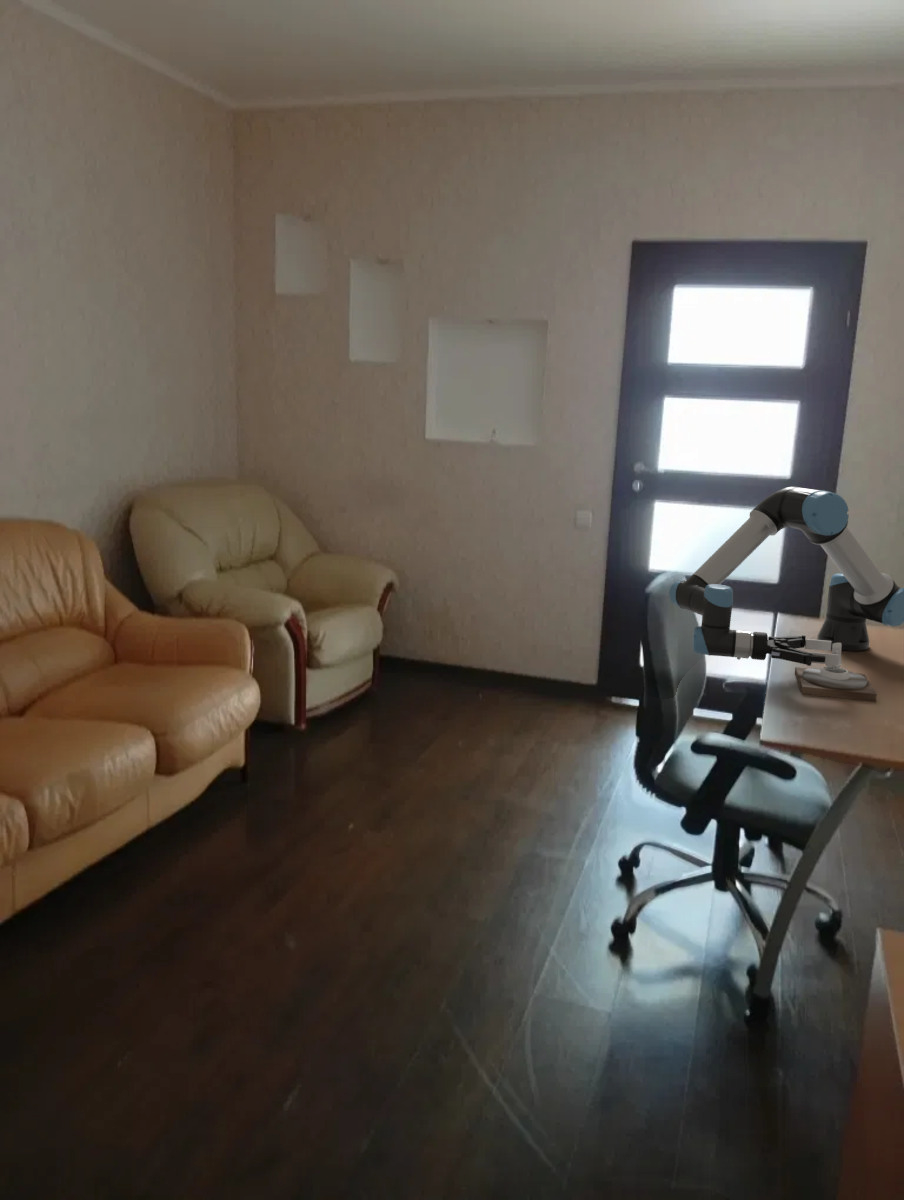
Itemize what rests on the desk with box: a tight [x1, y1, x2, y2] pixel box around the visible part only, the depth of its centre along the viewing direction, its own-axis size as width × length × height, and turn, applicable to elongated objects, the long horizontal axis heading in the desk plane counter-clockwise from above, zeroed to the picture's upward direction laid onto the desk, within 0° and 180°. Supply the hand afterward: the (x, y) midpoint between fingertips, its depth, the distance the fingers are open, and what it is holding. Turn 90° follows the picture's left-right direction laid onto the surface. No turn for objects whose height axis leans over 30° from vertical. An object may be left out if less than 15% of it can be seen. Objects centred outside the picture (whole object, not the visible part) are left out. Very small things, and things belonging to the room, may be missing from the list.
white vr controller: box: [819, 643, 850, 680], centre depth 240 cm, size 8×12×7 cm
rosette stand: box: [794, 666, 878, 702], centre depth 242 cm, size 18×18×3 cm
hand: (834, 652), depth 240 cm, fingers open, 13 cm apart
